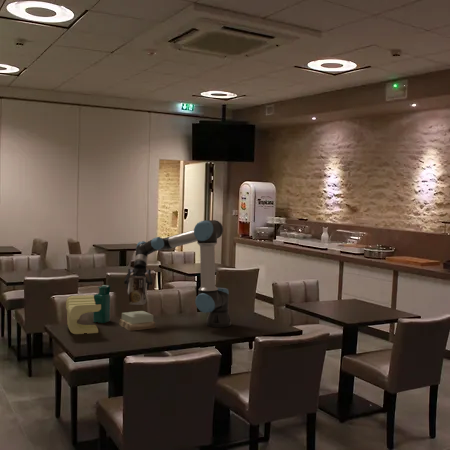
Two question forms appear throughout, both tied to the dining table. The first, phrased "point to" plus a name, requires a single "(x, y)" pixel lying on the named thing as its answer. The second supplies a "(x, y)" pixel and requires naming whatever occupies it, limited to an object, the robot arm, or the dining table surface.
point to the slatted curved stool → (80, 313)
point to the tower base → (136, 325)
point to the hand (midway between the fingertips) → (137, 293)
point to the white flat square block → (137, 317)
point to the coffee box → (137, 290)
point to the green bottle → (102, 304)
